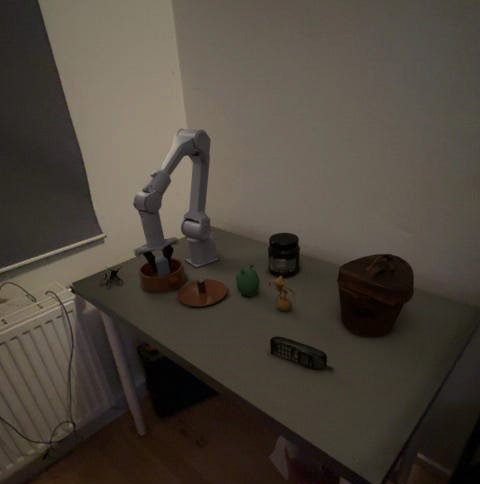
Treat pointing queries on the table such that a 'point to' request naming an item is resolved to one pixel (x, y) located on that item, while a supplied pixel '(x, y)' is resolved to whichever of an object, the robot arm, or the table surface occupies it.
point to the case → (374, 293)
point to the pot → (162, 277)
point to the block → (162, 265)
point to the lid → (202, 293)
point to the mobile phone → (299, 353)
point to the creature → (112, 276)
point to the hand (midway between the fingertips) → (161, 269)
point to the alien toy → (247, 281)
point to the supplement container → (283, 254)
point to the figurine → (283, 302)
